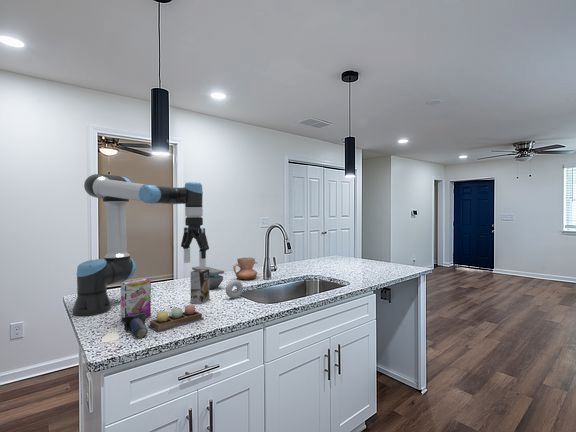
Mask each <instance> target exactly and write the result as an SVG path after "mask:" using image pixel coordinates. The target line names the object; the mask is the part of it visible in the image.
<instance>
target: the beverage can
mask: <svg viewBox="0 0 576 432" xmlns="http://www.w3.org/2000/svg"><path fill="white" fill-rule="evenodd" d="M145 316H146V314H145V311H143V312H141V313H138V314H133V315H124V318H123V317H122V321H121V322H122V323H123V328H124V332H129V331H132V332H133V333H134V335H135V337H137V338H144V337H145V336H147V334H148V331H149V330H148V329H149V327H148V326H146V325H145V324H146V322H147V320H146V319H147V317H145ZM124 322H125V323H124Z"/></svg>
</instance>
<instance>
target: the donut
mask: <svg viewBox="0 0 576 432" xmlns="http://www.w3.org/2000/svg"><path fill="white" fill-rule="evenodd" d="M234 287H235V288H236V290H235V291H233V289H234ZM243 289H244V285H243V283H242V282H241V280H240V279H232V280H231V281H229V282H228V283H227V285H226V287H225V294H226V296H227V297H229V298H230V299H237V298H239V297H240V296H241V295H242V293H243Z"/></svg>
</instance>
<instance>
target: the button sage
mask: <svg viewBox="0 0 576 432" xmlns="http://www.w3.org/2000/svg"><path fill="white" fill-rule="evenodd" d="M182 313H183V308H182V307H177V308H173V309H171V315H170V316H171V317H173V318H177V317H181V316H182Z"/></svg>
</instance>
